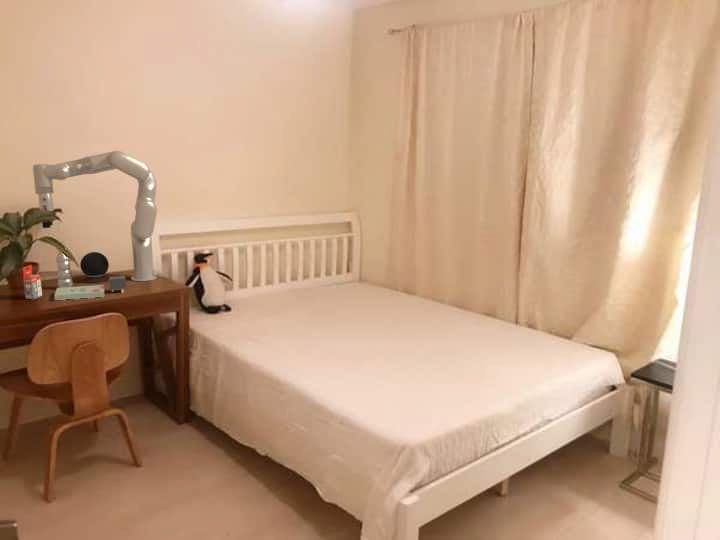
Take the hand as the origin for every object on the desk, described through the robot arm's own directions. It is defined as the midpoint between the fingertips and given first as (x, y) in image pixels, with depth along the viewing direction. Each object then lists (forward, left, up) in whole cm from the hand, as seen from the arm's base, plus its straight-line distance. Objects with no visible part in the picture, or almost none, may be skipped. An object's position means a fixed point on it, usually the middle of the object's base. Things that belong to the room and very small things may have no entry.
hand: (47, 226), depth 268 cm
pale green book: (-13, +23, -30) cm, 40 cm away
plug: (-29, +22, -30) cm, 47 cm away
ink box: (+6, +22, -30) cm, 37 cm away
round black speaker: (-19, -5, -30) cm, 36 cm away
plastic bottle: (-6, +7, -30) cm, 31 cm away
